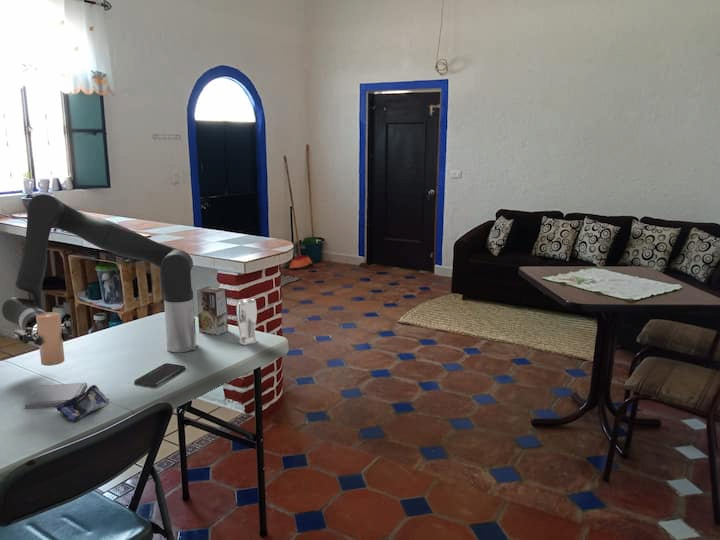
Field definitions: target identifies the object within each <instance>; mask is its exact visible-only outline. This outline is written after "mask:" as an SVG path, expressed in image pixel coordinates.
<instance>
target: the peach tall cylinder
mask: <svg viewBox="0 0 720 540" xmlns="http://www.w3.org/2000/svg"><path fill="white" fill-rule="evenodd" d="M61 319H62V318H61V313H60V312H56V311H51V312H50V311H49V312H48V311H47V312H46V313H42V314H39V315H37V316H36V320H37V329H38V335H39V336H40V337H41V341H42V345H41V346H38V347H39V355H40V364H41V365H42V366H44V367H45V366H48V367H50V366H51V367H52V366H57V365H61V364H63V363H64V362H65V361H66V360H65V352H64V351H65V350H64V342H63V341H64V340H63V339H62V328H61V324H62V320H61Z"/></svg>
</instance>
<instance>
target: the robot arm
mask: <svg viewBox="0 0 720 540" xmlns="http://www.w3.org/2000/svg"><path fill="white" fill-rule="evenodd" d="M26 216H27V217H26V229H25V240H24V246H23V251H22V255H21V260H20V263H19V268H18V271H17V276H16V281H15V287H16V288H17V289H18V290H21V291H23V292H26V293H28V294H29V295H30V298H25V297H24V298H22V297H9V298H7V299H6V300H5V301H4V302H3V304H2V306H1V314H2V316H3V317H4V319H5V320H6V321H8V322H9V323H12V324H15V325H19V326H20V329H14V332H13V333H14V339H15V340H16V341H18V342H19V343H22V344H24V345H27V344H29V342H31V344H34V345H37V346H38V347H39V346H41V345H42V341H41V337H40V336H39V335H38V329H37V320H36V316H37V315H39V314H42V313H47V312H46V311H45V310H44V308H43V297H42V296H43V294H42V293H43V290H42V289H43V282H44V280H45V279H44V278H45V275H46V270H47V265H48V264H47V263H48V244H49V239H50V235H51V231H52V229H53V228H55V229H57V230H61V231H64V232H67V233H70V234H73V235H74V236H76V237H77V236H78V237H79V238H81V239H83V240H85V241H86V242H88V243H89V244H92V245H93V246H95V247H97V248H99V249H101V250H104V251H107V252H108V253H111V254H113V255H116V256H120V257H123V258H128V259H133V260H139V261H143V262H148V263H150V264H153V265H154V266H156V267H158V268H160V281H161V289H162V294H163V300H164V301H163V302H164V317H165V319H164V320H165V332H166V333H165V334H166V347H167V351H169V352H171V353H185V352H189V351H195V350H196V347H197V334H196V333H197V332H196V318H195V308H194V307H195V306H194V305H195V304H194V291H193V288H192V287H193V286H192V277H191V271H192V269H193V266H194V261H193V259H192V256H191V255H190V254H189V253H188V252H187V251H185V250H183V249H180V248H176V247H173V246H170V245H167V244H163V243H161V242H157V241H155V240H152V239H151V238H149V237H147V236H145V235H142V234H141V233H138V232H136V231H134V230H132V229H130V228H127V227H125V226H123V225H121V224H118V223H116V222H113V221H111V220H108V219H105V218H102V217H97V216H92V215H90V214H86V213H84V212H82V211H79V210H77V209H75V208H73V207H71V206H70V205H67V204H66V203H64V202H62V201H61V200H60V199H59V198H56V197H55V196H53V195H52V194H48V193H39V194H35V195H34V196H33V197H31V199H30V200H29V202H28V204H27V215H26ZM72 327H73V326H72V323H71V321H70V320H65V321H64V322H63V323H61V328H62V339H63V341H64V342H65V341H68V339H70V336H72V335H73V330H72Z"/></svg>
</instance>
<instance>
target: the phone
mask: <svg viewBox="0 0 720 540" xmlns="http://www.w3.org/2000/svg"><path fill="white" fill-rule="evenodd" d="M186 368H187V367H186V366H185V365H181V364H176V363H170V362H169V363H163V364H161V365H159V366H157V367H155V368H154V369H152V370H151V371H149V372H147V373H145V374H144V375H142V376H140V377H138V378H136V379H134V382H133V383H134V385H135V386H142V387H148V388H152V389H153V388H157V387H160V386H161V385H162V384H164V383H166V382H168V381H169V380H171V379H172V378H174V377H176V376H177V375H179V374H181V373H182V372H185V370H186Z"/></svg>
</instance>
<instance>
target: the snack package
mask: <svg viewBox="0 0 720 540" xmlns="http://www.w3.org/2000/svg"><path fill="white" fill-rule="evenodd" d="M81 393H82V392H81ZM109 403H110V399H109V398H108V397H106V395H105V394H104V393H103V391H101V390H100V388H99V387H98V386H97V385H96V384H92V385H91V386H89V387H88V389H86V391H83V393H82V394H81V395H78V396H76V397H74V398H72V399H70V400H67V401H65V402H64V403H63V404H60V405H59V406H56V411H58V412H60V413H61V415H63V417H64V418H65V419H66V421H68V422H73V423H76V422H78V421H79V420H81V419H82V418H83V417H85V416H87V415H88V414H89V413H91V412H93V411H95V410H98V409H99V407H100V406H102V405H104V406H107V405H108V404H109ZM102 408H103V407H100V409H102Z"/></svg>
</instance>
